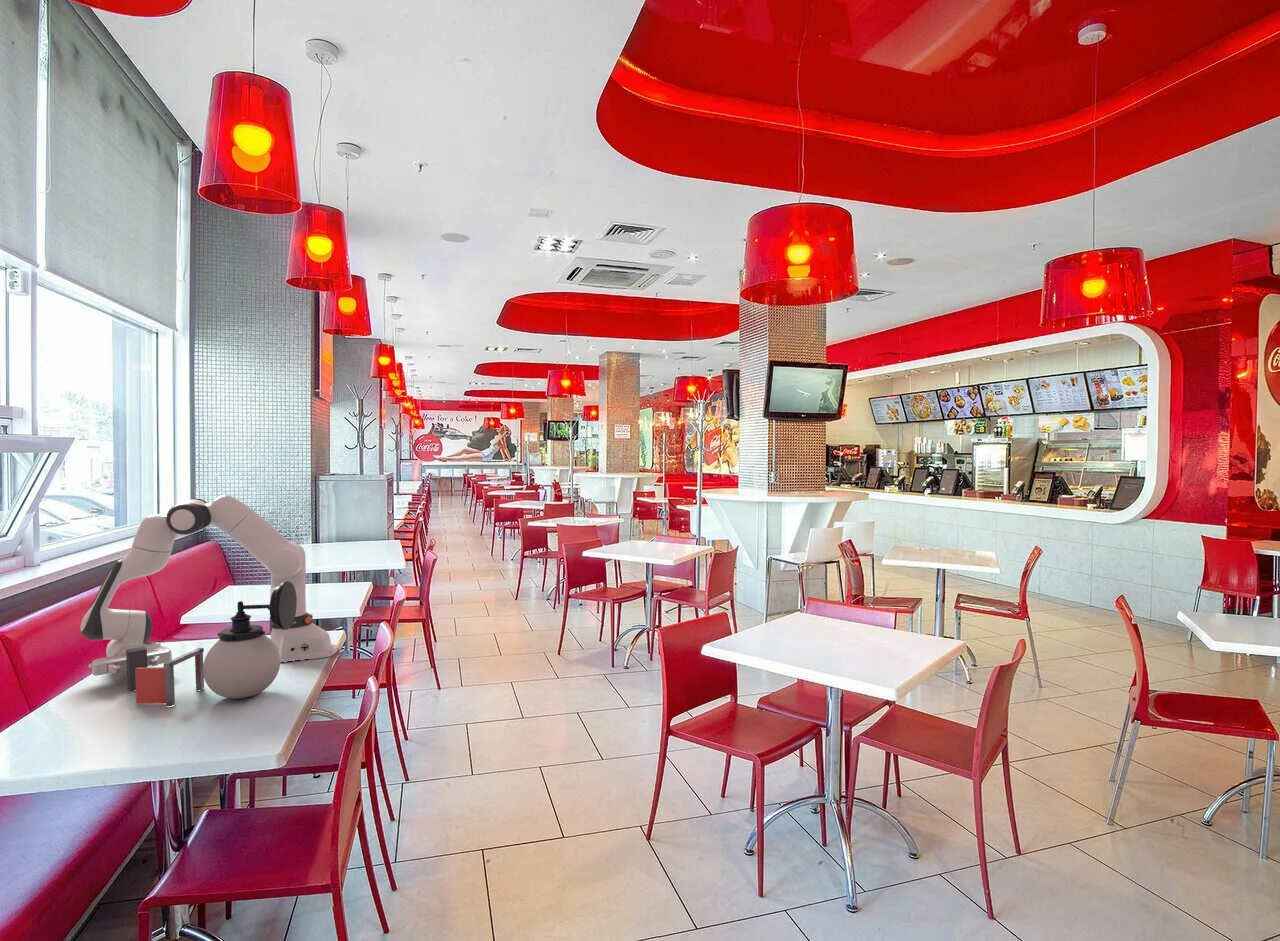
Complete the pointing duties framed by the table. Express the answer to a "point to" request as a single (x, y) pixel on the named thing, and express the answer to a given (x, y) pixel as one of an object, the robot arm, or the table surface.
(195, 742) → the table surface
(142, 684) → the red square panel
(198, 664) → the frame
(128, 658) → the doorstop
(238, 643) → the light fixture
